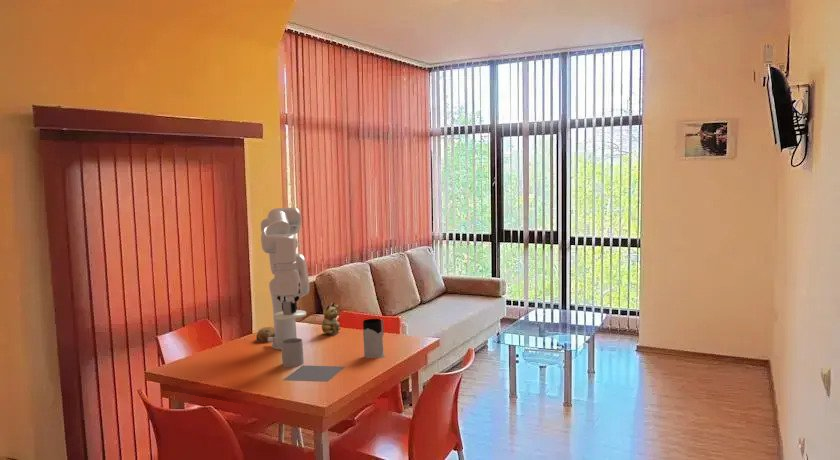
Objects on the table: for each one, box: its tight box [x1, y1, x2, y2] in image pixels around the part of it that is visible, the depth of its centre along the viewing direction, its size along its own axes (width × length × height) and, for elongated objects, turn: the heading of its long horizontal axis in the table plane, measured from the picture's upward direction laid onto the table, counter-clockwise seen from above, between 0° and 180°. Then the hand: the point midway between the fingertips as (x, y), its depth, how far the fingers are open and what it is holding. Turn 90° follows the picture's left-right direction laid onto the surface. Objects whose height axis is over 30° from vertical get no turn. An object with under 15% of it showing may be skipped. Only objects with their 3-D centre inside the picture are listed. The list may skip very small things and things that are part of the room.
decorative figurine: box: [321, 302, 341, 336], centre depth 303 cm, size 10×8×15 cm
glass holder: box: [362, 318, 386, 359], centre depth 263 cm, size 9×14×15 cm, turn 156°
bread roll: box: [256, 326, 275, 343], centre depth 298 cm, size 10×10×8 cm
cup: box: [281, 338, 305, 368], centre depth 254 cm, size 8×8×10 cm
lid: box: [272, 299, 307, 320], centre depth 252 cm, size 13×13×6 cm
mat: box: [282, 364, 346, 382], centre depth 240 cm, size 18×18×1 cm
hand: (289, 311), depth 252 cm, fingers closed on lid, 3 cm apart
